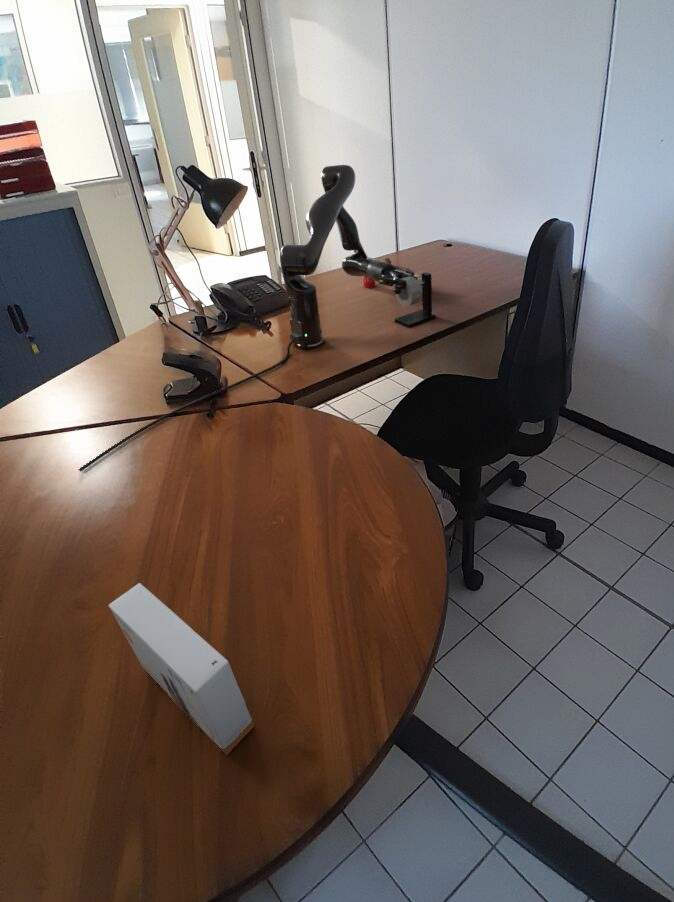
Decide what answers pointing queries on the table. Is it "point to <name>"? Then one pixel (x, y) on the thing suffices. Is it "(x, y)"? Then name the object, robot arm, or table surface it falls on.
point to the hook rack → (423, 314)
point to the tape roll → (409, 292)
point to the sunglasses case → (387, 260)
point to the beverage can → (368, 281)
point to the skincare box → (183, 664)
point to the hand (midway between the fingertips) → (411, 282)
